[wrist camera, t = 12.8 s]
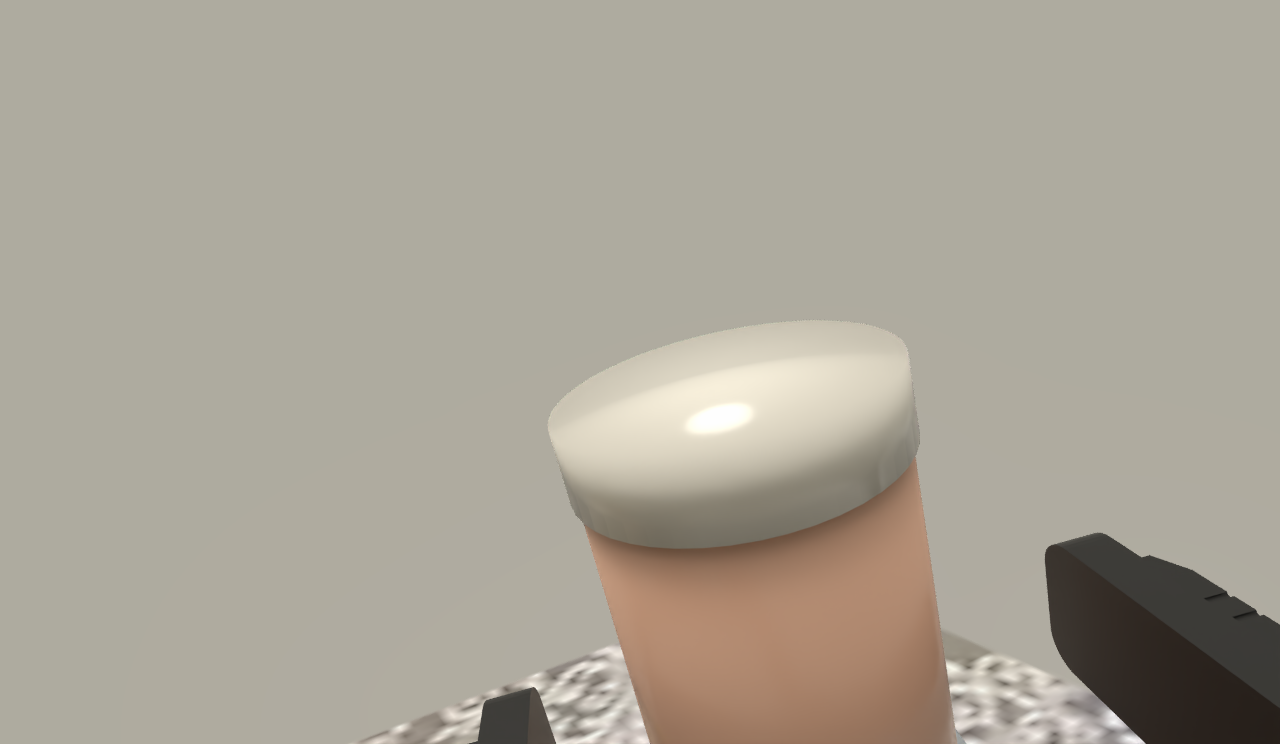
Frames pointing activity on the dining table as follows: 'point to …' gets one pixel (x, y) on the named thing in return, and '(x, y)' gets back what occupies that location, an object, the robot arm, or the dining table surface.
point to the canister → (763, 535)
